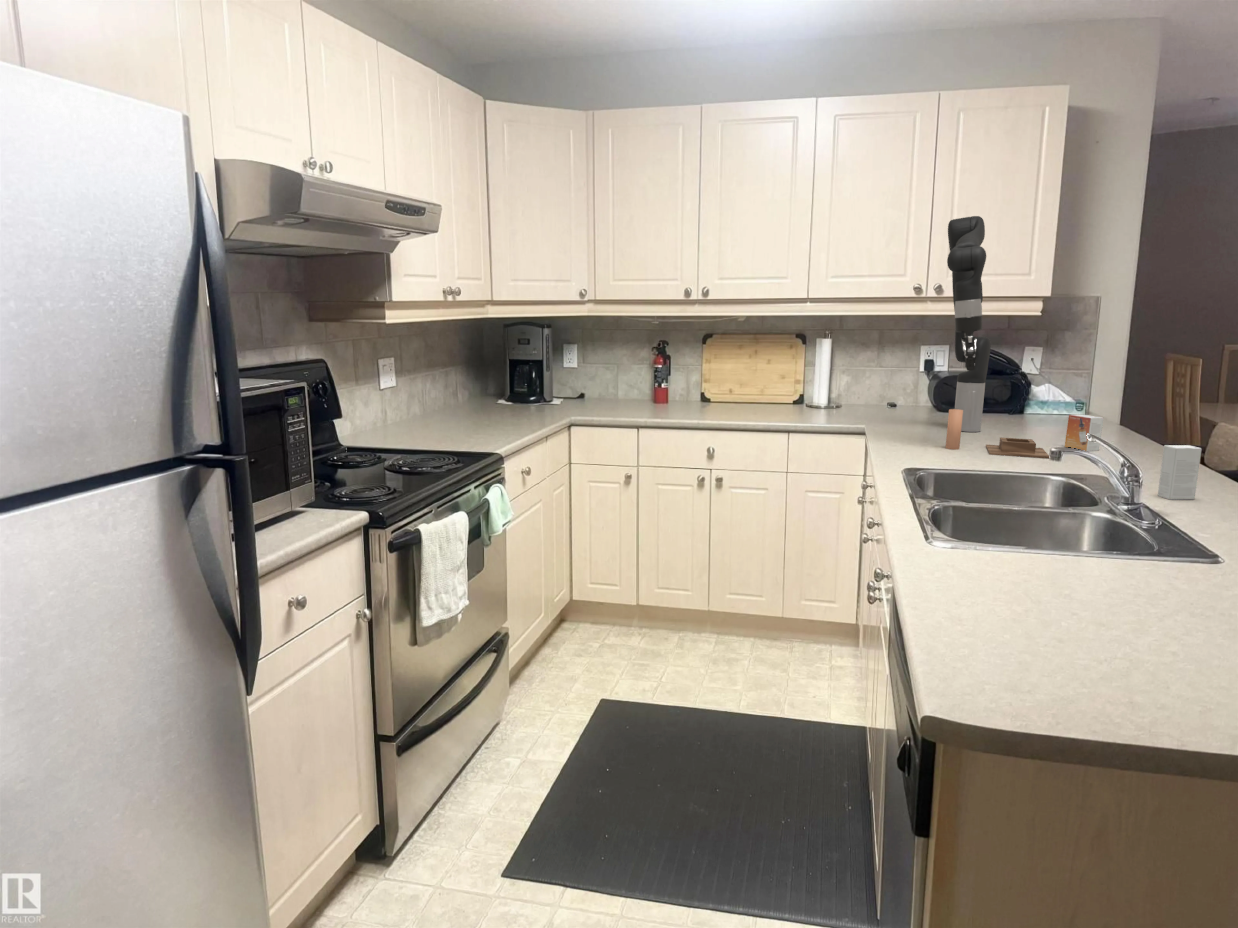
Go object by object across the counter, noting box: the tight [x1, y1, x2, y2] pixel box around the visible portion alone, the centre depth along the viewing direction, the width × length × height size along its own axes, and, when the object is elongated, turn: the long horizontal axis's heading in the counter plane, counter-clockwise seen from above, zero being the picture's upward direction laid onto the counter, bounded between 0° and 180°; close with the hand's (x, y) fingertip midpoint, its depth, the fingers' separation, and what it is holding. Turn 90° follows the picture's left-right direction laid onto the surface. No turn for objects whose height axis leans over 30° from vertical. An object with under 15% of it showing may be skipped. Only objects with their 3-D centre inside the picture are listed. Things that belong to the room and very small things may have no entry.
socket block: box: [985, 437, 1050, 460], centre depth 242 cm, size 16×16×4 cm
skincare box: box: [1157, 444, 1202, 500], centre depth 183 cm, size 6×4×12 cm
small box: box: [1064, 413, 1104, 452], centre depth 249 cm, size 8×6×10 cm
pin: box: [945, 408, 963, 451], centre depth 246 cm, size 4×4×12 cm
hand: (969, 369), depth 243 cm, fingers open, 8 cm apart
